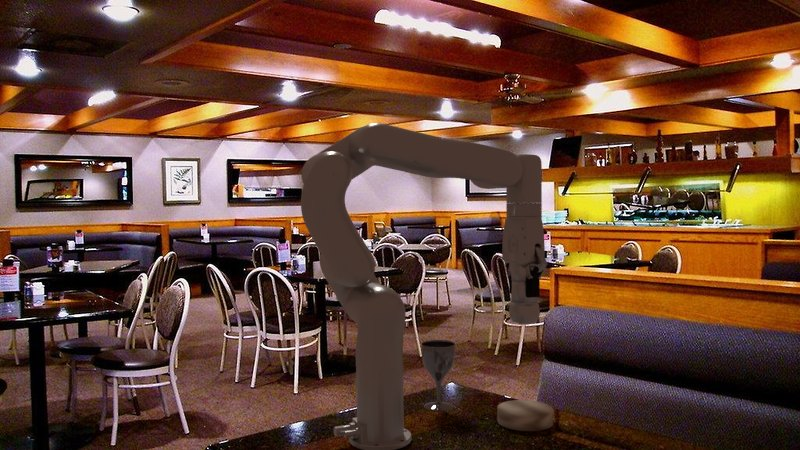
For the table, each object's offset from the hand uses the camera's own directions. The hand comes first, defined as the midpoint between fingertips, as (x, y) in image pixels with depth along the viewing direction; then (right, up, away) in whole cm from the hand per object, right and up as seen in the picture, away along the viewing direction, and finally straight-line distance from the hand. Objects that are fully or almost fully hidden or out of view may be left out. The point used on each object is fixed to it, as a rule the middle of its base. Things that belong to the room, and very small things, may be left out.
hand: (524, 294), depth 145 cm
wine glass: (-18, -28, +13) cm, 36 cm away
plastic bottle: (0, -7, 0) cm, 7 cm away
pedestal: (0, -28, +1) cm, 28 cm away
